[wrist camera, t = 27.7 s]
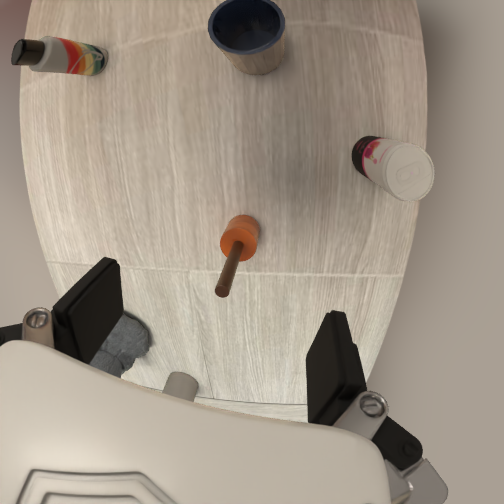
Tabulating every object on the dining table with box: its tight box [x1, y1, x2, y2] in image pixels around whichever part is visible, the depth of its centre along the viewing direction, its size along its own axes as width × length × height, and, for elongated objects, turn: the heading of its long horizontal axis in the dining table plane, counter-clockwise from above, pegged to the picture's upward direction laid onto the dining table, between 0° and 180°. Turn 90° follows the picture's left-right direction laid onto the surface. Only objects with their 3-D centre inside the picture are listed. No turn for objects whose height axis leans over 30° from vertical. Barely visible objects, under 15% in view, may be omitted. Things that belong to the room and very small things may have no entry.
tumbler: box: [208, 0, 285, 75], centre depth 27 cm, size 8×8×13 cm
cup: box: [162, 372, 198, 402], centre depth 62 cm, size 8×8×10 cm
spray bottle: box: [11, 36, 108, 76], centre depth 25 cm, size 6×6×20 cm
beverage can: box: [352, 136, 434, 202], centre depth 31 cm, size 6×6×15 cm
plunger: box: [215, 215, 260, 298], centre depth 38 cm, size 5×5×18 cm
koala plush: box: [89, 314, 149, 378], centre depth 52 cm, size 17×18×20 cm
